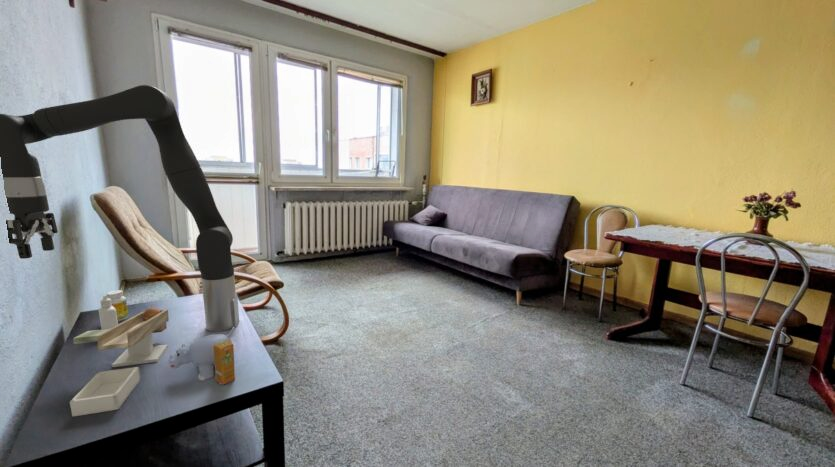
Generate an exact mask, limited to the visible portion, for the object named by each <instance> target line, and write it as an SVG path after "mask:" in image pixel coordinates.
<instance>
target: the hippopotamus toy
mask: <svg viewBox="0 0 835 467" xmlns="http://www.w3.org/2000/svg"><path fill="white" fill-rule="evenodd" d="M234 331H235V327H233V328H231V330H230V331H229V332H228V334H221V333H220V334H219V333H217V334H210V335H209V334H208V335H205V336H201V337H200V338H198V339H196V340H195V341H193V342H191V343H190V344H189V346H185V343H184V344H181V347H179V348H178V349H177V350H176V351H175V354H172V355H169V359H168V363H169V365H170V368H171V369H177V368H180V367H181V366H183V365H187V364H190V363H192V364H194V366H195V367H198V370H199V373H198V375H197V379H198V380H199V381H205V380H209V379H211V378H213V377H214V374H215V370H214V365H215V359H214V345H215V344H218V343H220V342H223V341H225V340H227V341H229V342H231V343H232V344H233V341H232V340H231V338H232V337H233V335H234Z"/></svg>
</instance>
